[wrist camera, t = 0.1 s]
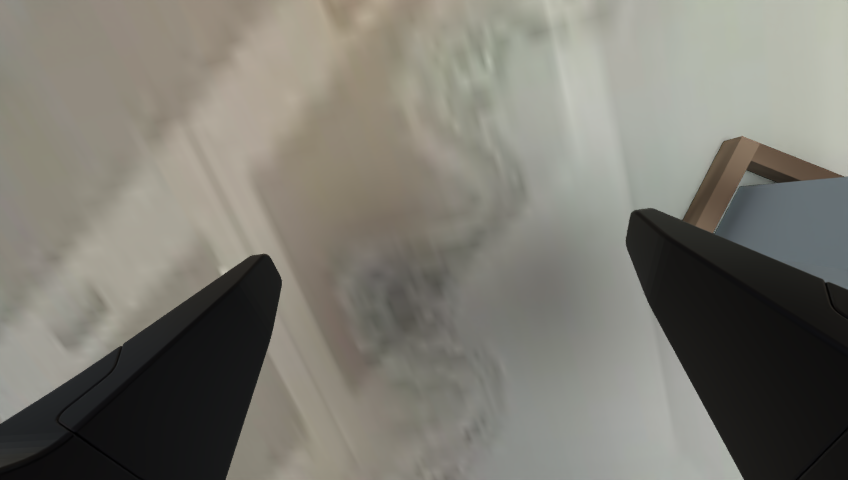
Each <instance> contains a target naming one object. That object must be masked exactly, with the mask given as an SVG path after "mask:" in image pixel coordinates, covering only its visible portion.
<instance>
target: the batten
mask: <svg viewBox="0 0 848 480" xmlns="http://www.w3.org/2000/svg"><path fill="white" fill-rule="evenodd" d="M715 234H716V235H718V236H721V237H723V238H725V239H728V240H730V241H733V242H735V243H737V244H740V245H742V246H745V247H747V248H749V249H752V250H754V251H757V252H759V253H761V254H764V255H766V256H769V257H771V258H773V259H776V260H778V261H781V262H783V263H785V264H788V265H790V266H793V267H795V268H797V269H800V270H802V271H805V272H807V273H809V274H812V275H814V276H817V277H819V278H821V279H823V280H824V281H825V282H831V283H834V284H836V285H838V286H841V287H843V288H845V289H848V177H838V178H828V179H817V180H806V181H795V182H784V183H774V184H763V185H752V186H741V187H739V189H738V191H737V193H736V195H735V197H734V199H733V201H732V202H731V204H730V206H729V208H728V210H727V212H726V214H725V216H724V217H723V219H722V221H721V223H720V225H719V227H718V229H717V231H716V233H715Z"/></svg>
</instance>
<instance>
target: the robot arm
mask: <svg viewBox="0 0 848 480" xmlns="http://www.w3.org/2000/svg"><path fill="white" fill-rule="evenodd" d="M626 246H627V250H628V252H629V255H630V257H631V260H632V263H633V265H634V268H635V270H636V273H637V276H638V278H639V281H640V283H641V286H642V288H643V291H644V294H645V296H646V298H647V301H648V303H649V305H650V307H651V309H652V311H653V313H654V314H655V316H656V318H657V320H658V322H659V324H660V326H661V327H662V329H663V331H664V333H665V335H666V337H667V338H668V340H669V342H670V344H671V346H672V348H673V350H674V351H675V353H676V355H677V357H678V359H679V361H680V362H681V364H682V366H683V368H684V370H685V372H686V373H687V375H688V377H689V379H690V381H691V383H692V385H693V386H694V388H695V390H696V392H697V394H698V396H699V397H700V399H701V401H702V403H703V405H704V407H705V409H706V410H707V412H708V414H709V416H710V418H711V420H712V421H713V423H714V425H715V427H716V429H717V431H718V433H719V434H720V436H721V438H722V440H723V442H724V444H725V445H726V447H727V449H728V451H729V453H730V455H731V457H732V458H733V460H734V462H735V464H736V466H737V468H738V469H739V471H740V473H741V475H742V477H743V479H744V480H848V289H845V288H843V287H841V286H838V285H836V284H834V283H831V282H825V281H824V280H823V279H821V278H819V277H817V276H814V275H812V274H809V273H807V272H805V271H802V270H800V269H797V268H795V267H793V266H790V265H788V264H785V263H783V262H781V261H778V260H776V259H773V258H771V257H769V256H766V255H764V254H761V253H759V252H757V251H754V250H752V249H749V248H747V247H745V246H742V245H740V244H737V243H735V242H733V241H730V240H728V239H725V238H723V237H721V236H718V235H716V234H713V233H711V232H709V231H706V230H704V229H701V228H699V227H697V226H694V225H692V224H689V223H687V222H685V221H682V220H680V219H677V218H675V217H673V216H670V215H668V214H665V213H663V212H661V211H658V210H656V209H653V208H647V209H639V210H634V211H633V212H632V213H631V215H630V220H629V225H628V230H627V236H626ZM281 287H282V280H281V277H280V274H279V273H278V271H277V269H276V267H275V265H274V263H273V261H272V259H271V258H270V256H269V255H267V254H259V255H252V256H250V257H248V258H247V259H245V260H244V261H242V262H241V263H240V264H238V265H237V266H235V267H234V268H232V269H231V270H229V271H228V272H227V273H225V274H224V275H222V276H221V277H219V278H218V279H216V280H215V281H214V282H212V283H211V284H209V285H208V286H206V287H205V288H203V289H202V290H201V291H199V292H198V293H196V294H195V295H193V296H192V297H190V298H189V299H188V300H186V301H185V302H183V303H182V304H180V305H179V306H177V307H176V308H174V309H173V310H172V311H170V312H169V313H167V314H166V315H164V316H163V317H161V318H160V319H159V320H157V321H156V322H154V323H153V324H151V325H150V326H148V327H147V328H146V329H144V330H143V331H141V332H140V333H138V334H137V335H135V336H134V337H133V338H131V339H130V340H128V341H127V342H125V343H124V344H123V346H120V347H118V348H117V349H115V350H114V351H112V352H111V353H109V354H108V355H106V356H105V357H104V358H102V359H101V360H99V361H98V362H96V363H95V364H93V365H92V366H90V367H89V368H87V369H86V370H84V371H83V372H81V373H80V374H78V375H77V376H75V377H74V378H72V379H70V380H69V381H67V382H66V383H64V384H63V385H61V386H60V387H58V388H56V389H55V390H53V391H52V392H50V393H49V394H47V395H46V396H44V397H42V398H41V399H39V400H38V401H36V402H34V403H33V404H31V405H30V406H28V407H26V408H25V409H23V410H22V411H20V412H19V413H17V414H15V415H14V416H12V417H11V418H9V419H7V420H6V421H4V422H3V423H1V424H0V480H226V477H227V474H228V470H229V467H230V464H231V461H232V458H233V455H234V452H235V449H236V445H237V442H238V439H239V436H240V433H241V430H242V427H243V424H244V421H245V417H246V414H247V411H248V408H249V405H250V402H251V399H252V396H253V392H254V389H255V386H256V383H257V380H258V377H259V374H260V371H261V367H262V364H263V361H264V358H265V355H266V352H267V349H268V346H269V342H270V339H271V335H272V331H273V327H274V322H275V317H276V312H277V307H278V302H279V297H280V292H281Z"/></svg>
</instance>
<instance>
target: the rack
mask: <svg viewBox="0 0 848 480" xmlns="http://www.w3.org/2000/svg"><path fill="white" fill-rule="evenodd" d="M746 170H748V171H751V172H753V173H756V174H758V175H761V176H763V177H765V178H768V179H770V180H773V181H775V182H778V183H784V182H795V181H806V180H817V179H828V178H838V177H844V176H841V175H839V174H836V173H834V172H831V171H829V170H826V169H824V168H821V167H819V166H816V165H814V164H811V163H809V162H806V161H804V160H801V159H799V158H796V157H794V156H791V155H788V154H786V153H783V152H781V151H778V150H776V149H773V148H771V147H768V146H766V145H763V144H761V143H758V142H756V141H753V140H751V139H748V138H746V137H743V136H741V137H738V138H734V139H730V140H727V141H724V142H723V144H722V146H721V148H720V150H719V151H718V153H717V155H716V157H715V159H714V161H713V163H712V165H711V167H710V169H709V171H708V173H707V175H706V177H705V178H704V180H703V182H702V184H701V186H700V188H699V190H698V192H697V194H696V196H695V198H694V200H693V202H692V204H691V205H690V207H689V209H688V211H687V213H686V215H685V217H684V219H683V221H685V222H687V223H689V224H692V225H694V226H697V227H699V228H701V229H704V230H706V231H709V232H711V233H713V231H714V230H715V228H716V226H717V224H718V222H719V220H720V218H721V216H722V214H723V213H724V211H725V209H726V207H727V205H728V203H729V201H730V199H731V197H732V196H733V194H734V192H735V190H736V188H737V186H738V184H739V182H740V181H741V179H742V177H743V175H744V173H745V171H746Z"/></svg>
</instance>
